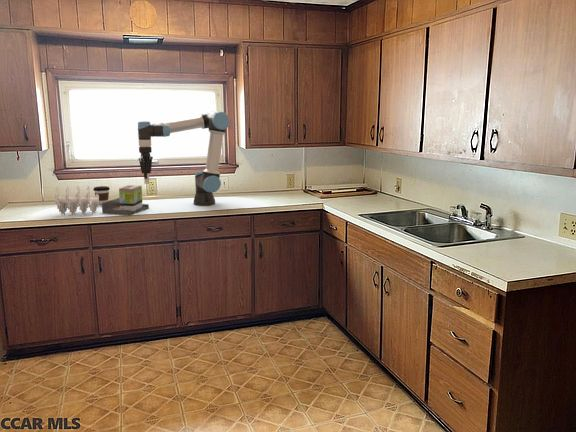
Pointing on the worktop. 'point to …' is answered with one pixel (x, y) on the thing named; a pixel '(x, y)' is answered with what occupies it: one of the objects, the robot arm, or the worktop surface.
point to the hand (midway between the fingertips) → (146, 183)
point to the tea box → (130, 197)
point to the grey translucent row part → (76, 202)
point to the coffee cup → (102, 193)
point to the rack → (114, 208)
